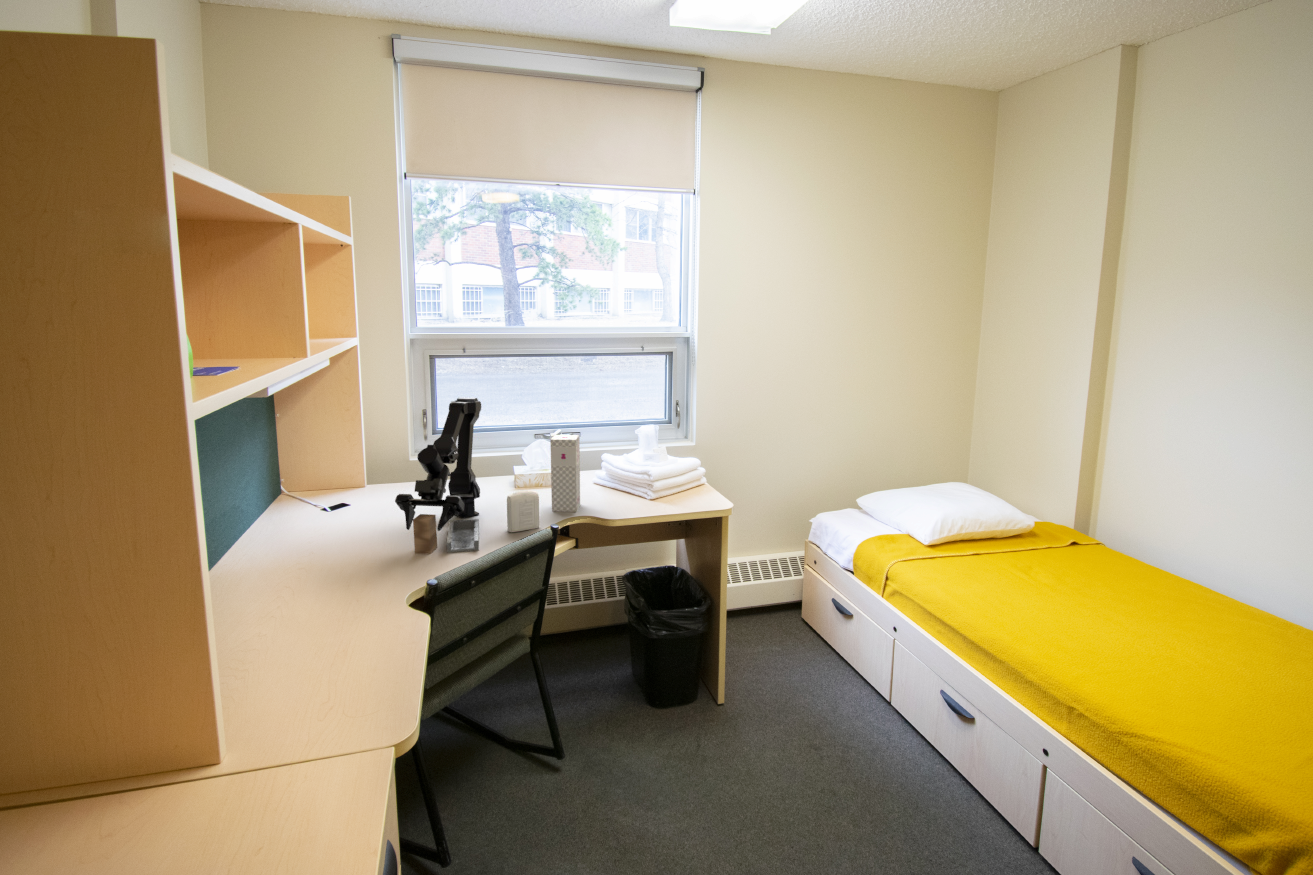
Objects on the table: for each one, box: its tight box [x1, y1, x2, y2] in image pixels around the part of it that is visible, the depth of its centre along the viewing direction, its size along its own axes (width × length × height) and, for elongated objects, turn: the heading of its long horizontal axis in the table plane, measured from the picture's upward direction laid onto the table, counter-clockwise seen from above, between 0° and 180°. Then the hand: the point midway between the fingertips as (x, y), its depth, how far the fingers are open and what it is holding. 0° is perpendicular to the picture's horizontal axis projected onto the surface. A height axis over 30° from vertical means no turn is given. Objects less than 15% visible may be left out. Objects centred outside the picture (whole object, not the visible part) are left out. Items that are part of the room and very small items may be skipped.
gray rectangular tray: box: [446, 518, 480, 554], centre depth 204 cm, size 20×9×3 cm, turn 14°
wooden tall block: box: [412, 513, 438, 555], centre depth 195 cm, size 4×5×10 cm
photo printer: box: [506, 490, 540, 533], centre depth 214 cm, size 10×4×12 cm, turn 123°
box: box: [550, 434, 581, 513], centre depth 235 cm, size 8×8×25 cm
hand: (423, 529), depth 193 cm, fingers open, 9 cm apart
